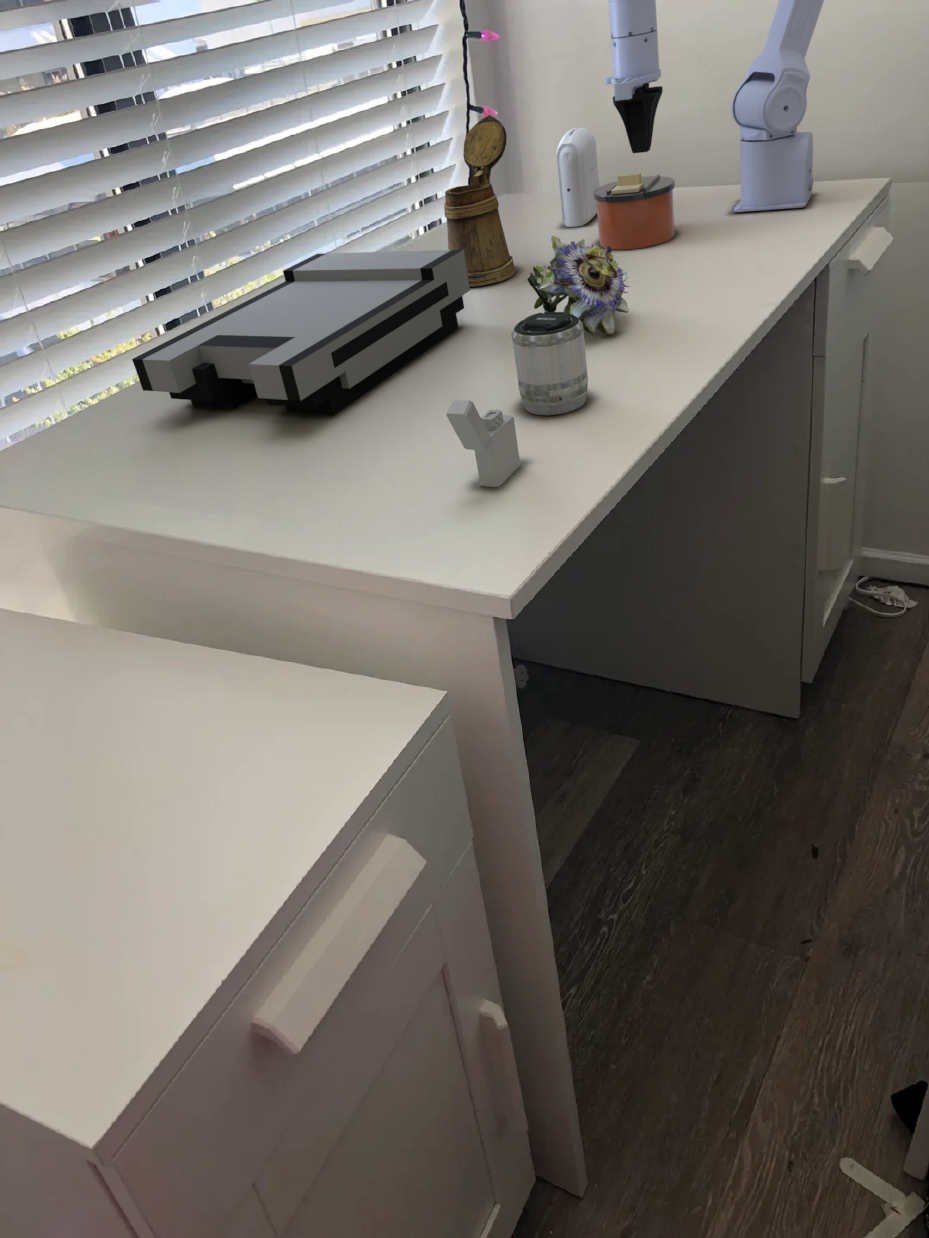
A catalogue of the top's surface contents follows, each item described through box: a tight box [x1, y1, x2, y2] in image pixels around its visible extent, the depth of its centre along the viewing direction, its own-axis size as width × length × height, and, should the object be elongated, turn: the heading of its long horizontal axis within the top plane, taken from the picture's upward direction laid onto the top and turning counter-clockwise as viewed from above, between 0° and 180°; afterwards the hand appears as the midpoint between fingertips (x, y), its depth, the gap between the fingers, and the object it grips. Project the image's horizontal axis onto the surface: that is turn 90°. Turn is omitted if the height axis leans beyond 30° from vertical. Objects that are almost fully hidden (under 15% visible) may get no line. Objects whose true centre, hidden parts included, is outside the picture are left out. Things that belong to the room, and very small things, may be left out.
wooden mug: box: [443, 114, 516, 288], centre depth 129 cm, size 9×14×18 cm, turn 154°
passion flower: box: [526, 235, 630, 336], centre depth 106 cm, size 11×11×12 cm
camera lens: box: [511, 311, 589, 417], centre depth 89 cm, size 6×6×8 cm
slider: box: [611, 172, 644, 194], centre depth 129 cm, size 4×3×2 cm
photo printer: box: [555, 126, 600, 228], centre depth 147 cm, size 10×4×12 cm, turn 160°
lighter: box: [445, 399, 521, 488], centre depth 78 cm, size 7×2×8 cm, turn 151°
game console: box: [131, 249, 471, 417], centre depth 108 cm, size 21×32×8 cm, turn 150°
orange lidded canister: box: [593, 174, 676, 251], centre depth 134 cm, size 11×11×7 cm
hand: (641, 151), depth 132 cm, fingers closed
